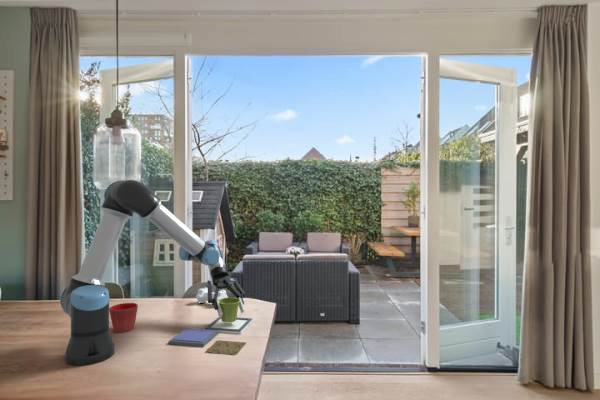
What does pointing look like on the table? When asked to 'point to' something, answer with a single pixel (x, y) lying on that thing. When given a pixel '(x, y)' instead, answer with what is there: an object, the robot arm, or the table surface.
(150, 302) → the table surface
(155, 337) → the table surface
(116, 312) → the flower pot
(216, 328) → the marked board
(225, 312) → the plant pot
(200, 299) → the bone shaped toy
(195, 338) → the ink pad
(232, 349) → the brown square mat
